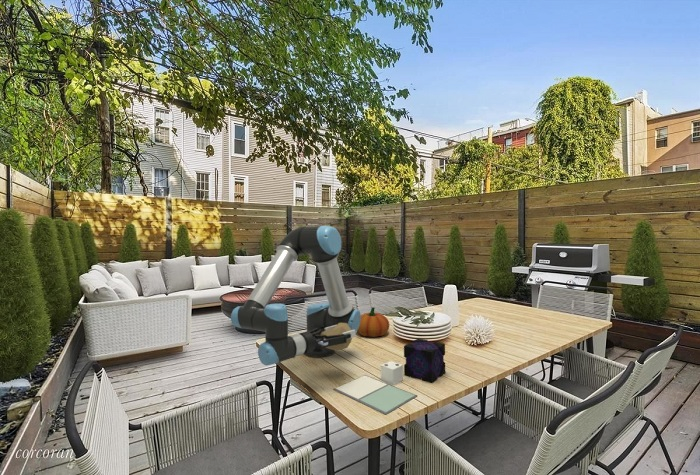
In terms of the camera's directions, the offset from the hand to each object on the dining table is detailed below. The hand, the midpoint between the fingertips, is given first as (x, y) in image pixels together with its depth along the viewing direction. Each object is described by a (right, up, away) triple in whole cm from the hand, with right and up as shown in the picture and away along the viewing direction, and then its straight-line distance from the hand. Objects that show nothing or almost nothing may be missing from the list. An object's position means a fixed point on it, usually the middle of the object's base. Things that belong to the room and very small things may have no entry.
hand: (345, 330), depth 139 cm
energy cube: (+32, -18, -1) cm, 36 cm away
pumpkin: (+14, -17, +54) cm, 59 cm away
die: (+18, -18, -6) cm, 26 cm away
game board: (+10, -18, -16) cm, 26 cm away
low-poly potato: (-3, -7, -2) cm, 8 cm away
